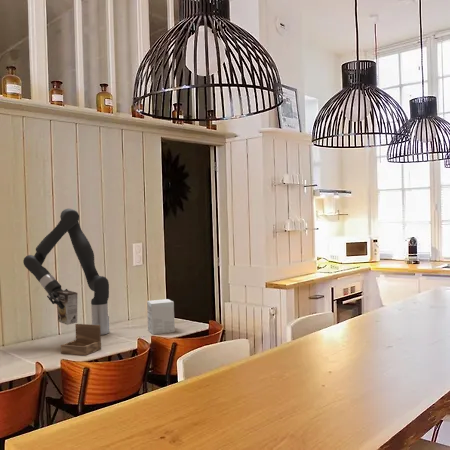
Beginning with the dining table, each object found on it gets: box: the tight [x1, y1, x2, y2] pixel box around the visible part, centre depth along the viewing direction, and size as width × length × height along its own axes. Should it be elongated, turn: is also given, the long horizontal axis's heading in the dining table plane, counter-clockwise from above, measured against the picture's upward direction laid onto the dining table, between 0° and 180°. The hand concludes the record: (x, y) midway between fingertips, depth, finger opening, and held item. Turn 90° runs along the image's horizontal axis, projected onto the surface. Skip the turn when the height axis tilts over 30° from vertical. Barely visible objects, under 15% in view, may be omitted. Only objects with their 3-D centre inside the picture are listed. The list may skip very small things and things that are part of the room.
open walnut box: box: [60, 323, 102, 356], centre depth 243 cm, size 13×14×12 cm
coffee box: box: [57, 289, 78, 326], centre depth 256 cm, size 9×6×16 cm
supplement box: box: [146, 298, 176, 335], centre depth 283 cm, size 13×13×18 cm
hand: (68, 306), depth 256 cm, fingers closed on coffee box, 8 cm apart
